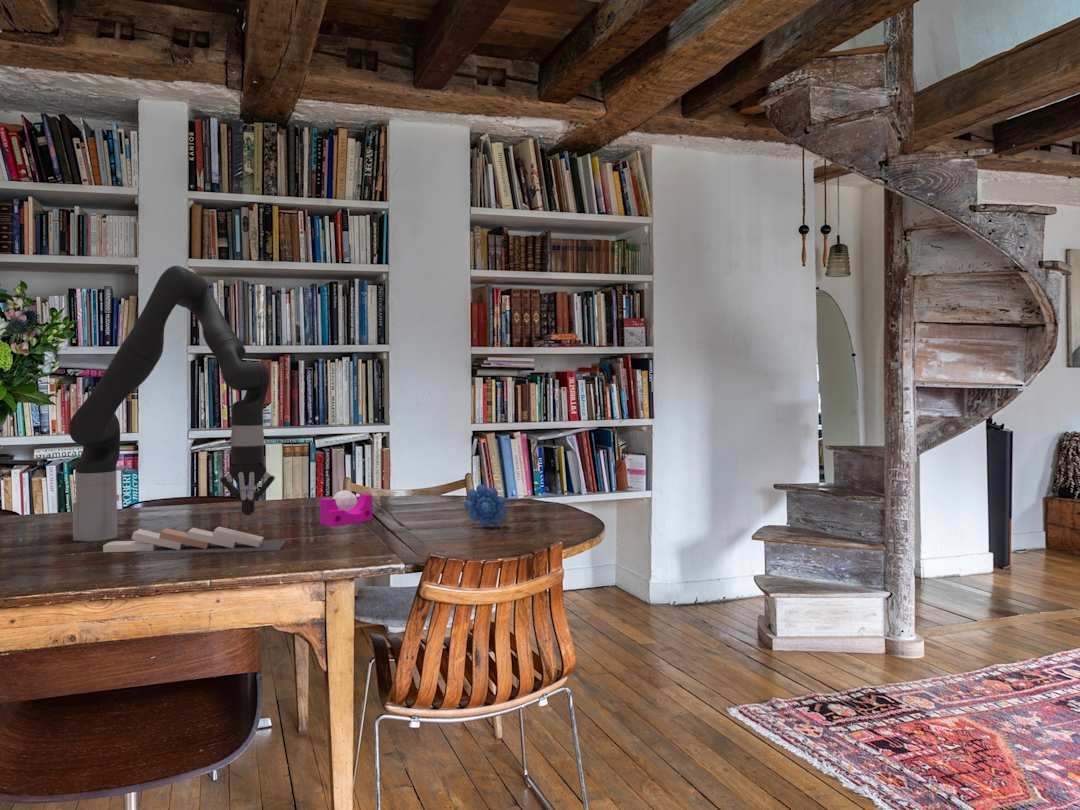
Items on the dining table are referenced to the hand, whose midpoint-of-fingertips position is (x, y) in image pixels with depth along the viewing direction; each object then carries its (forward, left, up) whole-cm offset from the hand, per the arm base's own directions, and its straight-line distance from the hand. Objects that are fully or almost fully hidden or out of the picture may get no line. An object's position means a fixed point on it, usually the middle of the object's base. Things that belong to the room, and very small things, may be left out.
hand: (248, 514), depth 200 cm
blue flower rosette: (+60, +18, -8) cm, 63 cm away
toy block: (+22, +34, -8) cm, 41 cm away
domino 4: (-3, 0, -7) cm, 7 cm away
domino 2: (-15, 0, -7) cm, 17 cm away
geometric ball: (+20, +45, -8) cm, 50 cm away
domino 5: (+3, 0, -7) cm, 7 cm away
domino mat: (-8, 0, -8) cm, 11 cm away
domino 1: (-21, 0, -7) cm, 22 cm away
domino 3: (-9, 0, -7) cm, 11 cm away
